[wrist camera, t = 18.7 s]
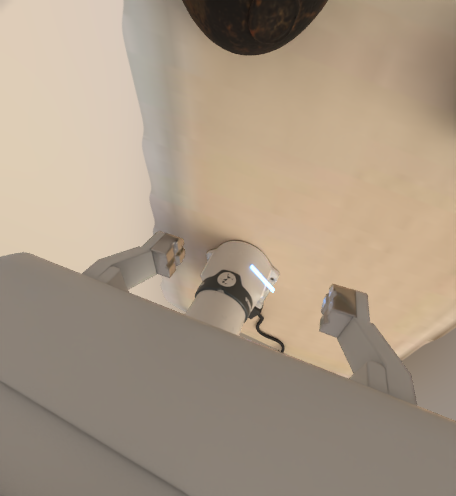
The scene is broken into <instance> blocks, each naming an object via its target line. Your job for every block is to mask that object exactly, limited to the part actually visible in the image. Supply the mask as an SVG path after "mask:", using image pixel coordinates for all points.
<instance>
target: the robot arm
mask: <svg viewBox="0 0 456 496" xmlns="http://www.w3.org/2000/svg"><path fill="white" fill-rule="evenodd" d="M183 245H184V239H182V238H180V237H177V236H174V235H171V234H168V233H164V232H161V231H158V232H157V233H155V234H154V235H153V236H152V237H151V238H150V239H149V240H148V241H147V242H146V243H145V244H144V245H143V246H142V247H136V248H133V249H130V250H127V251H124V252H121V253H117V254H114V255H111V256H108V257H105V258H102V259H99V260H98V261H96V262H95V263H94V264H93V265H92V266H90V267H89V268H88V269H87V270H86V271H85V272H83V273H82V274H80V273H78V272H75V271H73V270H70V269H68V268H65V267H63V266H60V265H58V264H55V263H52V262H50V261H47V260H45V259H42V258H40V257H37V256H35V255H33V254H30V253H16V254H11V255H7V256H2V257H0V496H456V421H454V420H452V419H449V418H447V417H444V416H442V415H439V414H437V413H434V412H431V411H429V410H426V409H424V408H421V407H419V406H417V402H416V396H415V392H414V386H413V381H412V376H411V373H410V372H409V371H408V369H407V368H406V367H405V365H404V364H403V363H402V361H401V360H400V359H399V357H398V356H397V355H396V353H395V352H394V351H393V349H392V348H391V347H390V345H389V344H388V343H387V341H386V340H385V338H384V337H383V336H382V334H381V333H380V332H379V330H378V329H377V328H376V326H375V325H374V324H373V323H370V317H369V306H368V295H367V294H366V293H363V292H360V291H356V290H353V289H349V288H346V287H342V286H339V285H336V284H332V285H331V287H330V288H329V293H328V294H326V296H325V298H324V301H323V304H322V309H321V313H322V314H323V316H322V318H321V319H320V329H319V331H321V332H323V333H326V334H328V335H331V336H334V337H336V338H337V339H338V342H339V344H340V346H341V348H342V350H343V352H344V354H345V356H346V358H347V361H348V363H349V365H350V367H351V369H352V371H353V373H354V374H353V375H352V376H351V377H350V378H349V379H348V378H345V377H342V376H340V375H337V374H335V373H332V372H330V371H327V370H325V369H322V368H320V367H317V366H315V365H312V364H309V363H307V362H304V361H302V360H299V359H297V358H294V357H292V356H289V355H287V354H284V353H283V352H284V345H283V343H282V342H281V341H279V340H277V339H275V338H273V337H271V336H268V335H266V334H264V333H262V332H261V331H260V330H259V325H260V324H261V323H262V321H263V319H264V318H263V316H262V315H261V314H260V313H261V310H262V307H263V303H264V300H265V298H266V296H267V295H268V293H269V292H270V290H271V291H272V292H274V288H273V286H274V284H275V283H276V281H277V279H278V278H279V275H280V274H279V272H278V271H277V270H276V269H275V268H273V267H272V266H271V264H270V263H269V261H268V259H267V257H266V256H265V255H264V254H263V253H262V252H261V251H260V250H259V249H258V248H256V247H254V246H253V245H251V244H248V243H245V242H241V241H228V242H225V243H223V244H221V245H220V246H219V247H218V248H217V249H213V250H210V251H208V253H207V255H206V256H207V260H208V262H207V264H206V266H205V268H204V269H203V271H202V273H201V278H202V283H201V285H200V286H199V288H198V289H197V292H196V294H195V299H194V301H193V302H192V304H191V306H190V307H189V309H188V311H187V312H186V314H182V313H180V312H177V311H175V310H172V309H169V308H167V307H164V306H162V305H159V304H157V303H154V302H151V301H149V300H147V299H144V298H141V297H139V296H136V295H134V294H131V293H129V291H128V289H130V288H132V287H134V286H136V285H138V284H140V283H142V282H144V281H145V280H147V279H149V278H151V277H153V276H155V275H156V274H160V275H162V276H166V277H169V278H170V277H171V276H172V275H173V273H174V272H175V271H176V266H178V265H180V264H181V263H182V262H183V259H184V257H185V249H184V248H183ZM257 315H258V316H259V317H260V318H261V319H260V321H259V322H258V323H257V326H256V329H257V331H258V332H259V333H260V334H261V335H262V336H264V337H266V338H269V339H271V340H273V341H276V342H277V343H279V344H280V345H281V346H282V350H281V352H280V351H279V350H278V351H276V350H274V349H271V348H269V347H266V346H263V345H261V344H258V343H256V342H253V341H251V340H248V339H245V338H243V337H240V336H239V335H240V332H241V329H242V326H243V323H245V322H246V320H247V318H250V319H252V318H253V317H255V316H257Z"/></svg>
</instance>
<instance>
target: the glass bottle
mask: <svg viewBox="0 0 456 496" xmlns="http://www.w3.org/2000/svg"><path fill="white" fill-rule="evenodd" d="M182 1H183V3H184V5H185V7H186V8H187V11H188V12H189V14H190V16H191V17H192V19H193V20H194V22H195V23H196V24H197V26H198V27H199V28H200V29H201V31H202V32H203V33H204V34H205V35H206V36H207V37H208V38H209V39H210V40H211V41H213V42H214V43H215V44H217V45H218V46H220V47H222V48H223V49H225V50H227V51H230V52H232V53H235V54H240V55H259V54H265V53H268V52H271V51H273V50H276V49H278V48H280V47H282V46H284V45H285V44H287V43H288V42H290V41H291V40H292V39H294V38H295V37H296V36H298V35H299V34H300V33H301V32H302V31H303V30H304V29H305V28H306V27H307V26H308V25H309V24H310V23H311V22H312V21H313V19H315V17H316V16H317V15H318V14H319V12H320V11H321V10H322V8H323V7H324V6H325V4H326V3H327V1H328V0H182Z"/></svg>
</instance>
